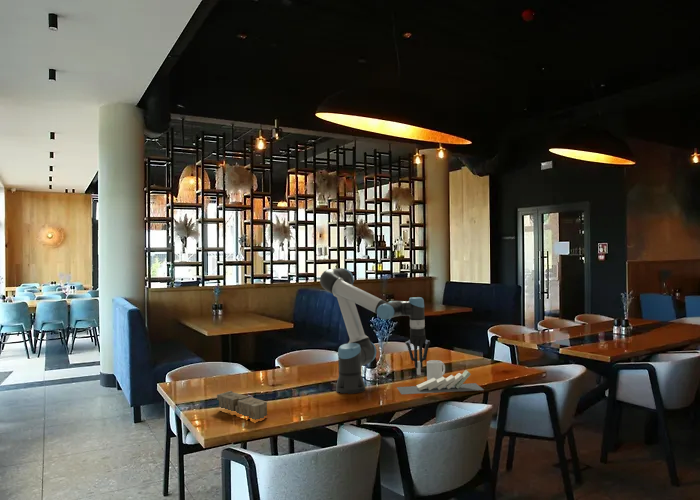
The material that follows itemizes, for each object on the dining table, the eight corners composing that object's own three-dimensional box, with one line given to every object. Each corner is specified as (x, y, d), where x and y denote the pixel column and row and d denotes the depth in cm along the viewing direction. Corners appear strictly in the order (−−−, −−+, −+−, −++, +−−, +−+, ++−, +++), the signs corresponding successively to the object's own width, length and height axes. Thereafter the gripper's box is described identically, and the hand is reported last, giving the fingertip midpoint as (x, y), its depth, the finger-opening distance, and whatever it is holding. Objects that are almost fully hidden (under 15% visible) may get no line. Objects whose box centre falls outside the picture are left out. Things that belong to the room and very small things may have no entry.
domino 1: (418, 388, 270) (436, 379, 270) (416, 385, 275) (433, 377, 275) (419, 390, 270) (437, 382, 270) (417, 388, 275) (435, 380, 275)
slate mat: (401, 395, 264) (401, 394, 264) (396, 388, 278) (396, 387, 278) (484, 391, 268) (484, 390, 268) (475, 384, 282) (475, 383, 282)
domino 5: (455, 386, 276) (468, 371, 277) (458, 388, 271) (471, 374, 272) (453, 384, 276) (465, 369, 277) (455, 386, 271) (468, 372, 272)
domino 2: (428, 387, 270) (445, 378, 271) (425, 385, 275) (443, 376, 276) (429, 390, 270) (446, 381, 271) (427, 387, 275) (444, 379, 276)
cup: (424, 380, 294) (423, 361, 294) (439, 376, 301) (439, 358, 301) (434, 382, 287) (434, 364, 287) (450, 379, 294) (450, 360, 294)
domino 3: (437, 387, 270) (454, 376, 271) (435, 384, 275) (451, 374, 276) (439, 389, 270) (455, 379, 271) (436, 387, 275) (453, 377, 276)
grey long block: (269, 421, 233) (231, 407, 253) (269, 402, 233) (231, 389, 253) (254, 426, 227) (217, 411, 248) (254, 406, 227) (216, 392, 248)
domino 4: (446, 386, 271) (462, 374, 271) (444, 384, 276) (459, 372, 276) (448, 389, 271) (463, 377, 271) (446, 386, 276) (461, 374, 276)
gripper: (406, 329, 268) (407, 376, 268) (431, 328, 269) (433, 375, 269) (403, 327, 275) (404, 373, 275) (428, 326, 276) (429, 372, 276)
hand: (418, 374), depth 272 cm, fingers closed
